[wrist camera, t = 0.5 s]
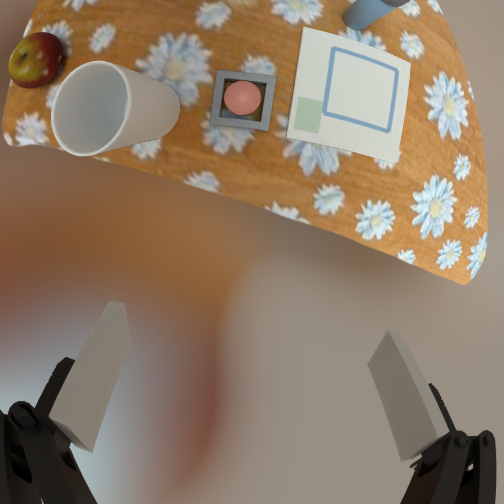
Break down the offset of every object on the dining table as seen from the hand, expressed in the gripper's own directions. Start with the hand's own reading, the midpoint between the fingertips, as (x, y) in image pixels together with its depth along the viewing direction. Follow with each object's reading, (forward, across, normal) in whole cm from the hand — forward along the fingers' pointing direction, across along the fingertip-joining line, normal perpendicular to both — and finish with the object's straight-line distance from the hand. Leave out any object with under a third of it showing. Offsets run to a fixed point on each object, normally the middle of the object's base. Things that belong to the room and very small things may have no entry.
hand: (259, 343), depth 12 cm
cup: (+27, -15, +10) cm, 32 cm away
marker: (+27, +10, +28) cm, 40 cm away
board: (+27, +11, +16) cm, 33 cm away
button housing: (+27, -3, +12) cm, 29 cm away
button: (+24, -3, +12) cm, 27 cm away
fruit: (+27, -35, +20) cm, 48 cm away
